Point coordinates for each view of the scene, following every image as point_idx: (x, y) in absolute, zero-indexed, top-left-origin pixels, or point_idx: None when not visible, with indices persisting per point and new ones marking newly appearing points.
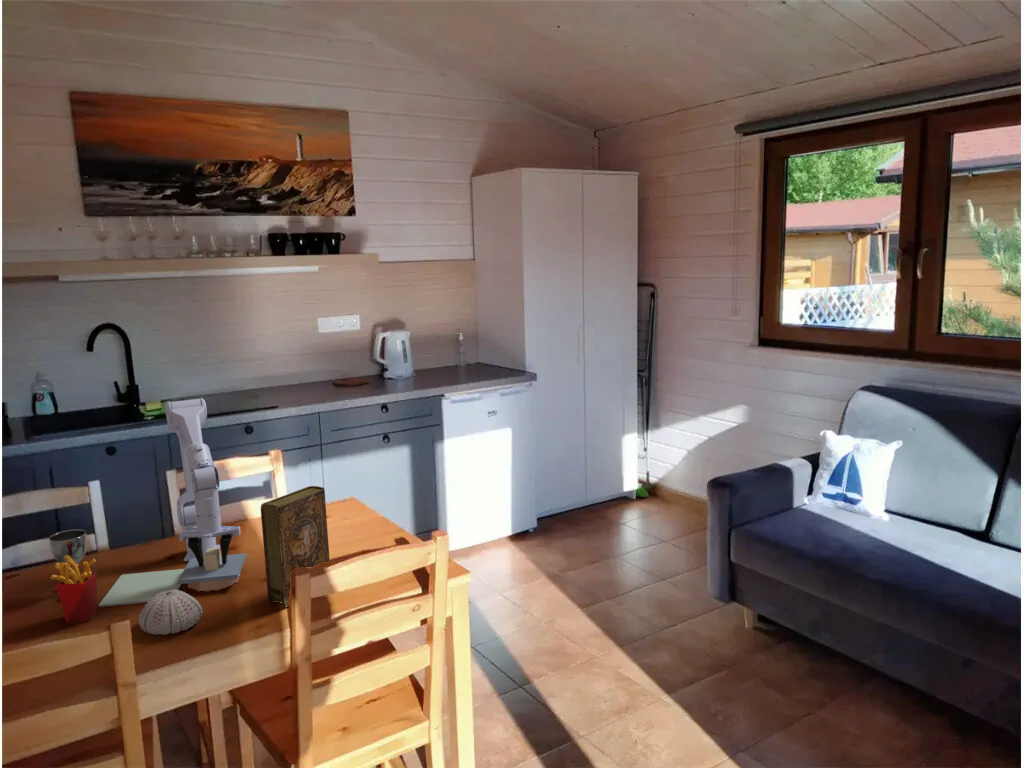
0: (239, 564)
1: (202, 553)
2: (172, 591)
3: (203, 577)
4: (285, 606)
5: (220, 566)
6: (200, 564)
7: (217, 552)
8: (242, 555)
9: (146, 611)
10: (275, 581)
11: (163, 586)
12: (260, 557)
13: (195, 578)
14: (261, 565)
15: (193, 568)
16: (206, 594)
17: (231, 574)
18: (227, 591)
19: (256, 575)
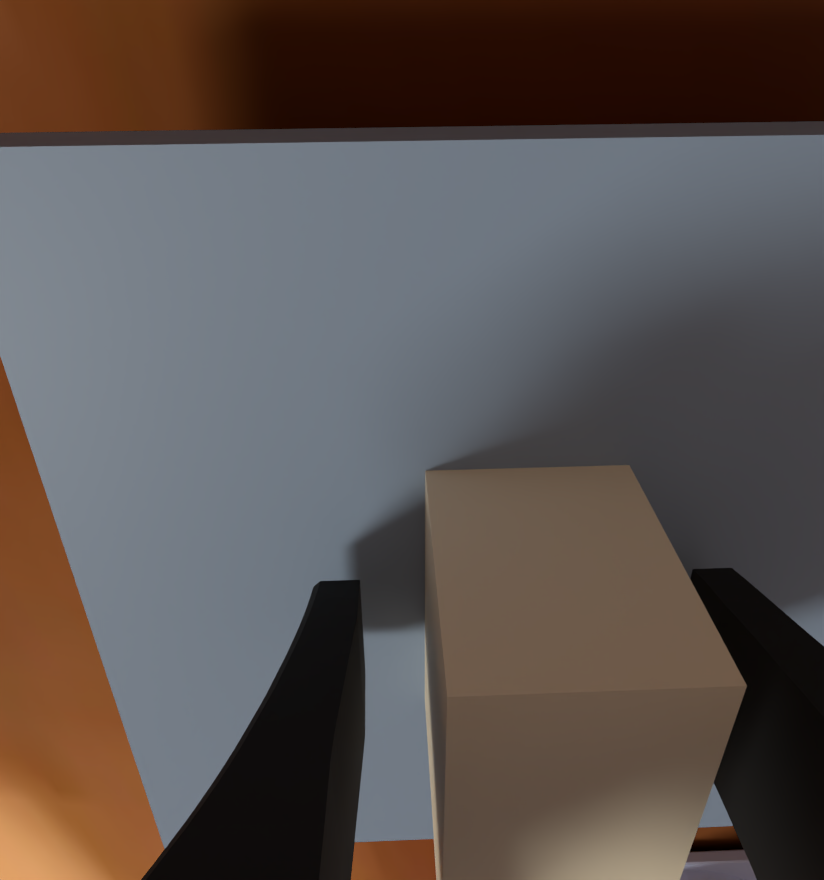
0: (110, 586)
1: (737, 825)
2: None
3: (648, 166)
4: None
5: (403, 571)
6: (732, 589)
7: (443, 790)
8: (188, 811)
9: None
10: None
11: None
12: (153, 836)
13: (808, 146)
14: (71, 712)
15: (808, 574)
16: (543, 38)
17: (78, 192)
18: (232, 80)
19: (13, 513)
